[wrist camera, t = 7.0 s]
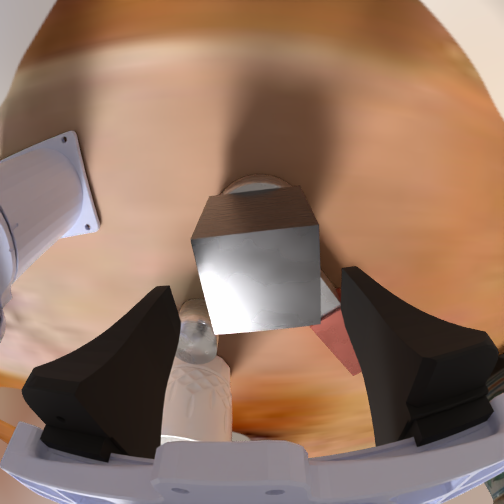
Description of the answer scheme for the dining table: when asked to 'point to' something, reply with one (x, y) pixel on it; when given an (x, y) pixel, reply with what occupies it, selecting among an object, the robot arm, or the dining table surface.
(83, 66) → the dining table surface
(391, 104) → the dining table surface
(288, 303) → the brushed steel cube
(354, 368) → the ratchet
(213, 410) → the white cup
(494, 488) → the beer stein
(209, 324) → the socket
